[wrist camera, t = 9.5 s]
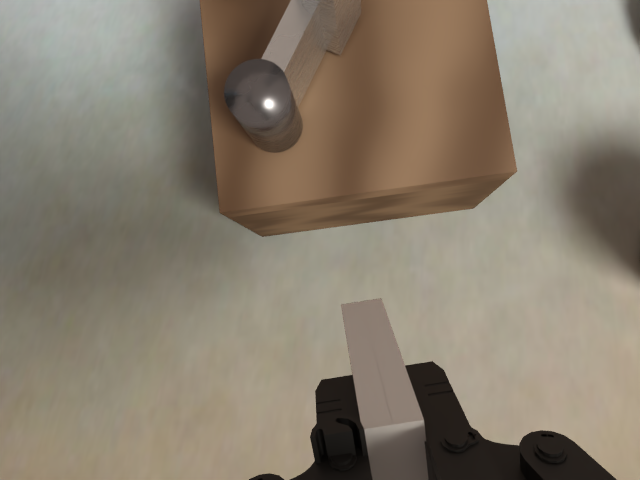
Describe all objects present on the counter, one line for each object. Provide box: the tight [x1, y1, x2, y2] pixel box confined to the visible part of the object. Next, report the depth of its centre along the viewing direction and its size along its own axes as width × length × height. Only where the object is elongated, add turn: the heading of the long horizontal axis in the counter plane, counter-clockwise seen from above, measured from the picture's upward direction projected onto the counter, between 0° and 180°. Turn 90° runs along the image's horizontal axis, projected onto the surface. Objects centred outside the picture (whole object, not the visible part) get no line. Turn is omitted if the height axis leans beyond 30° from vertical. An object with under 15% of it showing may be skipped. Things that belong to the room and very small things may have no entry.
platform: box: [200, 0, 517, 237], centre depth 30 cm, size 15×13×10 cm
